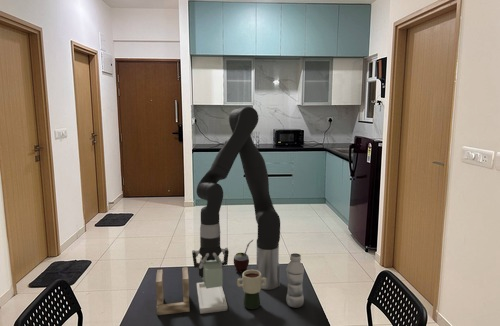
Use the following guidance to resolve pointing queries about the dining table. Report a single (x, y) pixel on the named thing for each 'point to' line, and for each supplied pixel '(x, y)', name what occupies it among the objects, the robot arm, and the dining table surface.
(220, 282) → the green block with tab
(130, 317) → the dining table surface
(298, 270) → the plastic bottle
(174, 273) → the dining table surface
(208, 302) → the tray
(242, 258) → the mate gourd
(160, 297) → the bay
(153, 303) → the dining table surface
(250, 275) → the character mug
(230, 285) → the dining table surface
